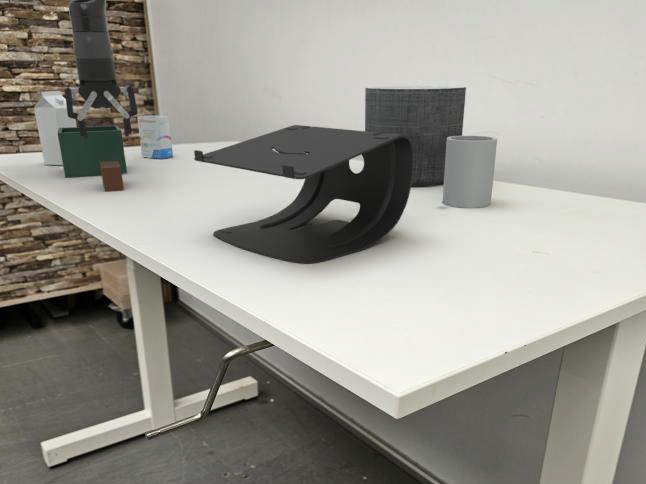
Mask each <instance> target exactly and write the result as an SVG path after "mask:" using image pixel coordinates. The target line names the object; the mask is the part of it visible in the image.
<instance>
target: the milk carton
mask: <svg viewBox="0 0 646 484" xmlns="http://www.w3.org/2000/svg"><path fill="white" fill-rule="evenodd" d="M40 93H41V96H40V98H39V100H38V101H37V103H36V104H35V106H34V107H33V110H34V115H35V116H34V117H35V120H36V126H37V132H38V136H39V137H38V138H39V141H40V142H39V143H40V148H41V153H42V157H43V163H44V165H47V166H63V162H62V156H61V150H60V145H59V139H58V130H59V128H69V127H78V126H77V120H76V119H73V118H69V117H68V114H67V106H66V97H64V96H63V95H62V91H61V90H51V91H40ZM74 108H75V107H73V112H74V113H75V109H74Z"/></svg>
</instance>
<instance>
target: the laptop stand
mask: <svg viewBox="0 0 646 484" xmlns="http://www.w3.org/2000/svg"><path fill="white" fill-rule="evenodd" d="M193 153H194V158H193V159H194V161H195V162H200V163H206V164H211V165H218V166H223V167H229V168H234V169H239V170H244V171H249V172H255V173H260V174H267V175H270V176H276V177H281V178H287V179H292V180H304V181H303V183H302V184H303V185H302V186H301V189H300V190H299V192H298V194H297V196H296V197H295V199H294V200H292V202H290V203H289V204H288V205H287V206H286V207H284V208H283V209H281V210H280V211H278V212H276V213H274V214H273V215H270V216H267V217H266V218H263V219H260V220H255V221H253V222H247V223H242V224H239V225H234V226H228V227H224V228H220V229H217V230H214V231H213V233H212V234H213V236H214V237H215V238H217V239H219V240H220V241H222V242H225V243H227V244H229V245H232V246H235V247H237V248H240V249H243V250H246V251H249V252H251V253H255V254H258V255H262V256H266V257H270V258H274V259H278V260H282V261H285V262H291V263H297V264H317V263H322V262H326V261H330V260H333V259H336V258H340V257H344V256H348V255H351V254H355V253H359V252H361V251H363V250H365V249H368V248H369V247H372V246H374V245H375V244H376V243H378V242H380V241H381V240H382V239H384V238H385V237H386V236H387V235H388V234H389V233H390V232H391V231H392V230H394V228H395V227H396V225H397V224H398V223H399V222H400V220H401V217H402V215H403V214H404V212H405V209H406V206H407V204H408V201H409V198H410V193H411V188H412V186H411V184H412V176H413V146H412V142H411V140H410V139H409V138H408V137H407V136H406V135H399V134H388V133H384V134H382V133H378V132H367V131H365V130H354V129H344V128H332V127H322V126H311V125H299V124H294V125H290V126H287V127H284V128H280V129H278V130H274V131H272V132H268V133H265V134H262V135H259V136H255V137H253V138H250V139H246V140H243V141H240V142H238V143H235V144H231V145H228V146H225V147H222V148H219V149H215V150H212V151H210V152H206V153H203V151H202V150H198V149H197V150H196V149H195V150H193ZM359 156H362V158H363V166H362V168H361V171H360V172H357V173H356V172H354V171H353V170H352V168H351V165H350V160H352V159H355V158H357V157H359ZM334 200H335V201H336V200H339V201H340V200H341V201H345V202H350V203H351V202H352V203H356V204H359V210H358V212H357V214H356V215H354V218H352V219H351V220H350V221H346V220H341V219H331V220H327V221H326V220H325V221H322V222H318V223H314V224H309V225H305V224H307V223H309V222H310V221H311V220H313V219H315V218H316V217H317V216H318V215H319V214H321V213H322V212H323V211H324V210H325V209H326V208H327V207H328V205H330V203H331V202H333V201H334ZM303 225H305V226H303Z"/></svg>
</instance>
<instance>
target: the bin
mask: <svg viewBox="0 0 646 484" xmlns="http://www.w3.org/2000/svg"><path fill="white" fill-rule="evenodd" d="M86 130H87V137H88V139H84V136H81V135H80V130H79V126H77V127H69V128H59V130H58V139H59V145H60V150H61V156H62V162H63V165H62V166H63V171H64V172H63V173H64V178H65V179H66V178H67V179H69V178H83V177H97V176H99V175H100V176H102V174H101V167H100V162H106V161H118V162H119V164H120V166H121V172H122V173H127V174H128V169H127V162H126V154H125V147H124V140H123V139H124V138H123V133H122V129H121V128H120V127H119V126H118V125H98V126H86Z"/></svg>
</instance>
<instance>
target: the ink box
mask: <svg viewBox="0 0 646 484" xmlns="http://www.w3.org/2000/svg"><path fill="white" fill-rule="evenodd" d="M136 118H137V127H138V133H139V142H140V151H141V152H140V153H141V158H144V157H147V158H146V159H156V158H157V159H158V160H164V159H169V158H174V155H173V153H174V152H173V144H172V135H171V134H172V133H171V124H170V116H168V115H138V116H137V117H136ZM157 159H156V160H157Z"/></svg>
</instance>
